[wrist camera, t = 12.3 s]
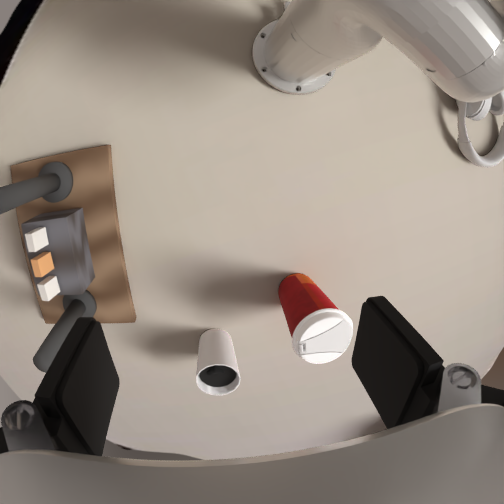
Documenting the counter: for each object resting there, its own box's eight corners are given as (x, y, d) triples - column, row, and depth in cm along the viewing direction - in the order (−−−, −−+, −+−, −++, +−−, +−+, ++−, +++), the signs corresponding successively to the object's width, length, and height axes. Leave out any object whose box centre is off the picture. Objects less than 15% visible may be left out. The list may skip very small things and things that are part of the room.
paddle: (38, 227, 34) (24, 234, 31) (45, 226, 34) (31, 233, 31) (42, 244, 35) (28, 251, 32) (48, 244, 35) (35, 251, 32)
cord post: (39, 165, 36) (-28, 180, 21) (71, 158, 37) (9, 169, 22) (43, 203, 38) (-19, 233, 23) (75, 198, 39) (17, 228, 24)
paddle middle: (43, 252, 35) (30, 259, 32) (50, 252, 35) (37, 260, 32) (47, 268, 36) (35, 276, 33) (54, 268, 36) (41, 277, 33)
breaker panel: (15, 164, 37) (-11, 170, 30) (110, 144, 39) (92, 145, 32) (48, 319, 46) (32, 342, 39) (136, 317, 48) (127, 343, 41)
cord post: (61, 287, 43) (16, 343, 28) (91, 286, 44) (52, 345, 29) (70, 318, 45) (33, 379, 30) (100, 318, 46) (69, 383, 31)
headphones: (435, 71, 40) (450, 170, 50) (465, 72, 33) (477, 182, 43) (488, 67, 40) (498, 152, 50) (515, 70, 33) (522, 161, 43)
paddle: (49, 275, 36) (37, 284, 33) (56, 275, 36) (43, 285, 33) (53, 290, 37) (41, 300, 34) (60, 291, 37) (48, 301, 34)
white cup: (188, 344, 52) (186, 383, 42) (212, 319, 50) (214, 356, 41) (218, 362, 54) (221, 401, 44) (242, 339, 53) (249, 377, 43)
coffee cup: (274, 315, 52) (297, 373, 38) (268, 272, 49) (291, 323, 35) (321, 304, 52) (356, 356, 38) (318, 261, 50) (357, 306, 36)
